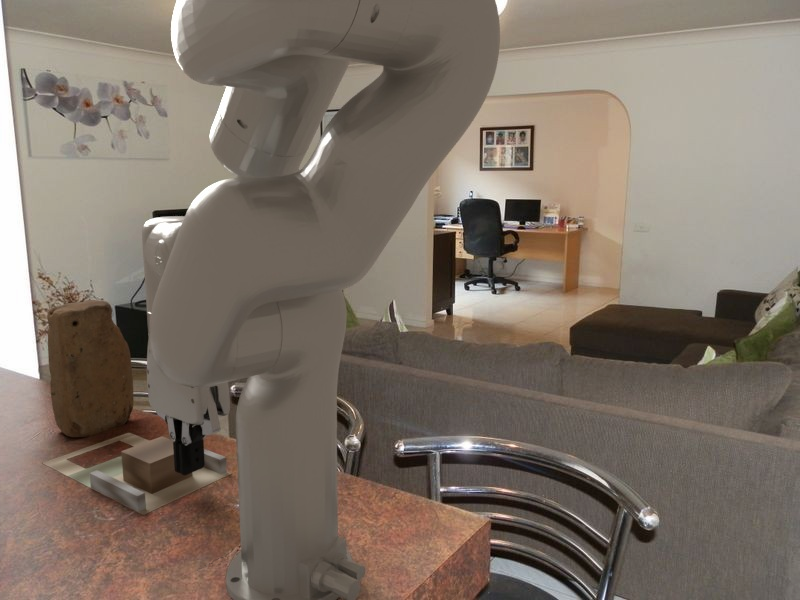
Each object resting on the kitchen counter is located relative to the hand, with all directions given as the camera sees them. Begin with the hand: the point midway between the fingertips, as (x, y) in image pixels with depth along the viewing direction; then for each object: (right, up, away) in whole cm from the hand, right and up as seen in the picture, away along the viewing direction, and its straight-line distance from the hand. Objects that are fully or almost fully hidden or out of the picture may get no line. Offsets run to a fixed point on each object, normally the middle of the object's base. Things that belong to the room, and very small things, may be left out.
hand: (189, 469), depth 81 cm
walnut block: (-5, -2, +4) cm, 7 cm away
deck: (-9, -3, +7) cm, 12 cm away
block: (-22, 0, +23) cm, 32 cm away
